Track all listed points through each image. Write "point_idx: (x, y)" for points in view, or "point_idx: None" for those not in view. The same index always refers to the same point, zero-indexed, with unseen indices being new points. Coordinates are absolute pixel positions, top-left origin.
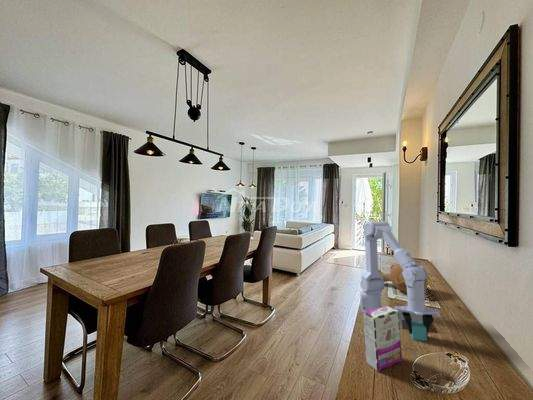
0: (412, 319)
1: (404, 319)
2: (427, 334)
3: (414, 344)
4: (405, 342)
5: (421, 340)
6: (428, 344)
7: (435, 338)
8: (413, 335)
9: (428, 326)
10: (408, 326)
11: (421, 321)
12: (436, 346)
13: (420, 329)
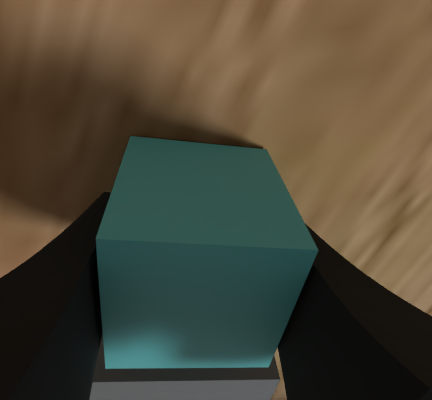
0: (172, 396)
1: (252, 384)
2: (98, 198)
3: (303, 49)
4: (380, 81)
5: (184, 142)
6: (134, 72)
7: (22, 205)
8: (270, 170)
9: (42, 267)
10: (342, 256)
11: (93, 384)
12: (48, 34)
13: (191, 216)
